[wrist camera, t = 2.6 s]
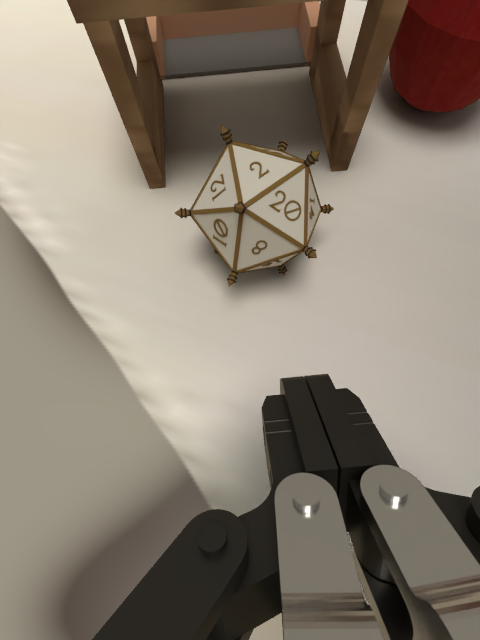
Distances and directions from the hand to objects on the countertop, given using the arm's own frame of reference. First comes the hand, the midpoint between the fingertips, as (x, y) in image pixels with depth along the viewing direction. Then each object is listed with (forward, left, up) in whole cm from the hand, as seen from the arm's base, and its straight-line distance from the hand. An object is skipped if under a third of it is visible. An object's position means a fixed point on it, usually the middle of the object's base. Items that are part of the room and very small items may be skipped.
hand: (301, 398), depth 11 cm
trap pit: (0, -33, -10) cm, 34 cm away
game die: (0, -12, -10) cm, 15 cm away
